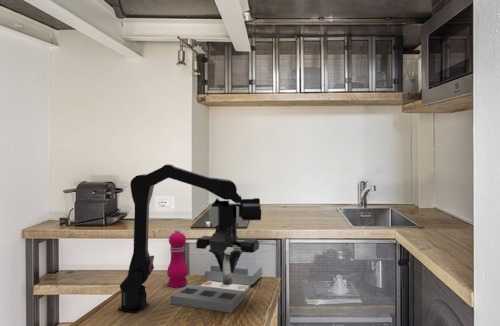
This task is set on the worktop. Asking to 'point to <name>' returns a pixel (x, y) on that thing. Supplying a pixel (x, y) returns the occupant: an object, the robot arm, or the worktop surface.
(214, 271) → the cover
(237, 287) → the plate
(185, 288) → the hole board
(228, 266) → the pin
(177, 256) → the pepper mill
